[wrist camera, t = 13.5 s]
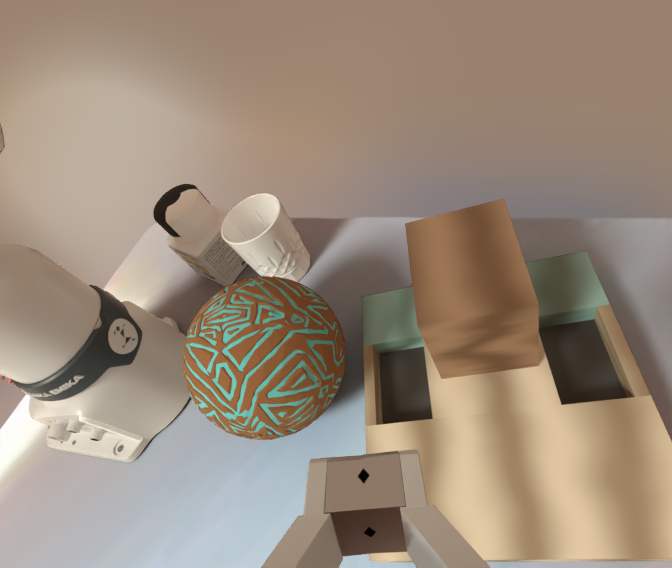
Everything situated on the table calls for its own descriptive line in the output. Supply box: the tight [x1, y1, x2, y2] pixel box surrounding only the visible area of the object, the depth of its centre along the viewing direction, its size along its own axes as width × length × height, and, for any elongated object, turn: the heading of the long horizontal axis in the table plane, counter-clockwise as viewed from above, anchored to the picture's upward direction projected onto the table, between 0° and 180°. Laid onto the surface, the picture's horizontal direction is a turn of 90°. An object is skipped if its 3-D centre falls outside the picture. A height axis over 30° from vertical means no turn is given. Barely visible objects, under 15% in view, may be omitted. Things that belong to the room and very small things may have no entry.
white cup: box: [221, 193, 310, 282], centre depth 52 cm, size 8×8×10 cm
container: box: [154, 184, 247, 287], centre depth 56 cm, size 8×8×13 cm
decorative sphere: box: [182, 276, 346, 440], centre depth 39 cm, size 15×15×15 cm
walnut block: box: [405, 199, 539, 379], centre depth 35 cm, size 8×10×10 cm
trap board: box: [362, 251, 672, 562], centre depth 36 cm, size 22×24×2 cm
